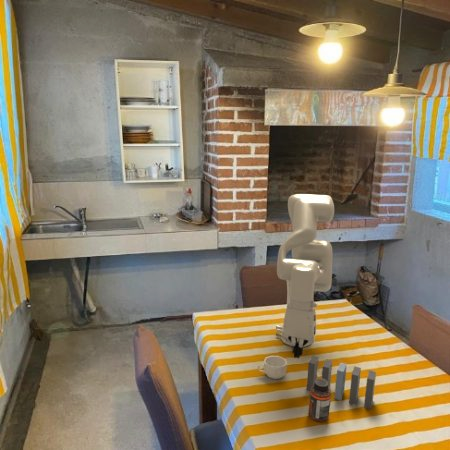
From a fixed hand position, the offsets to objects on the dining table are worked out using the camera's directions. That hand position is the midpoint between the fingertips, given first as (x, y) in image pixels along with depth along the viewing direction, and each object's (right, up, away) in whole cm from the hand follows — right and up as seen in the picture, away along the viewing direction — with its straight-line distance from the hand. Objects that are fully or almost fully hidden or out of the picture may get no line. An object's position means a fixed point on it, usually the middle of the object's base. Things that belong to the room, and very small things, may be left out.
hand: (297, 356), depth 134 cm
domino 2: (+9, -11, -2) cm, 14 cm away
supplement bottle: (+4, -14, -14) cm, 20 cm away
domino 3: (+13, -11, -4) cm, 18 cm away
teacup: (-8, -9, +7) cm, 14 cm away
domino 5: (+21, -13, -7) cm, 25 cm away
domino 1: (+5, -10, 0) cm, 11 cm away
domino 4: (+17, -12, -6) cm, 21 cm away
